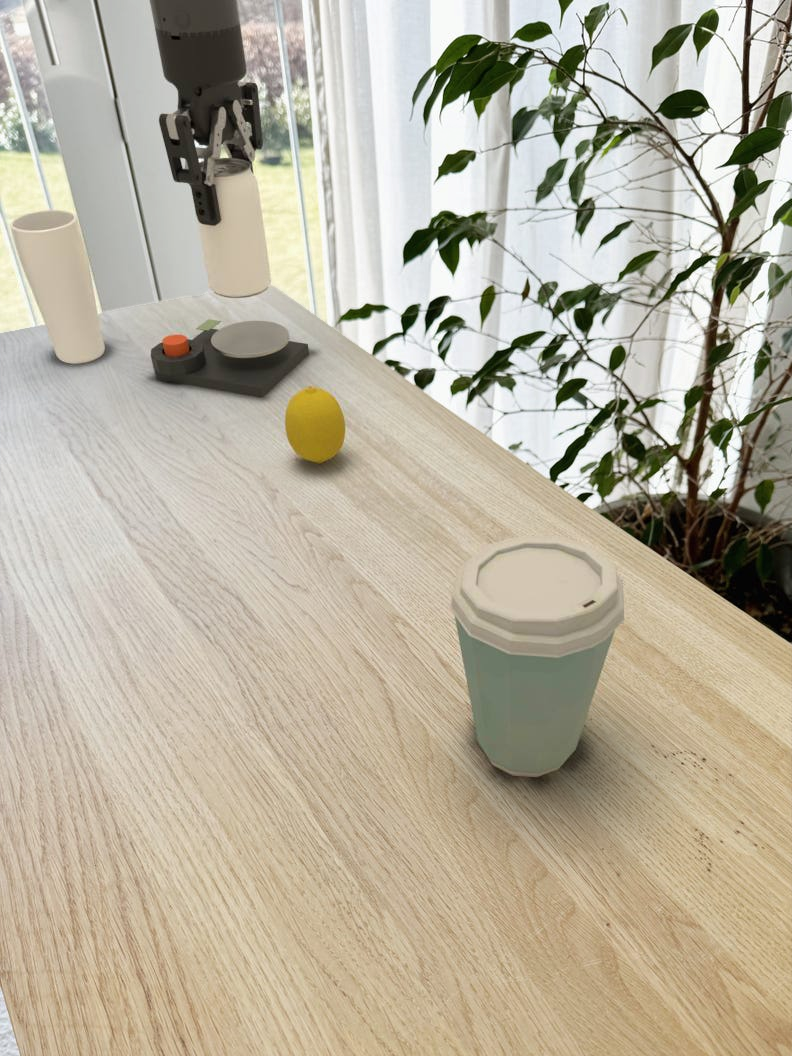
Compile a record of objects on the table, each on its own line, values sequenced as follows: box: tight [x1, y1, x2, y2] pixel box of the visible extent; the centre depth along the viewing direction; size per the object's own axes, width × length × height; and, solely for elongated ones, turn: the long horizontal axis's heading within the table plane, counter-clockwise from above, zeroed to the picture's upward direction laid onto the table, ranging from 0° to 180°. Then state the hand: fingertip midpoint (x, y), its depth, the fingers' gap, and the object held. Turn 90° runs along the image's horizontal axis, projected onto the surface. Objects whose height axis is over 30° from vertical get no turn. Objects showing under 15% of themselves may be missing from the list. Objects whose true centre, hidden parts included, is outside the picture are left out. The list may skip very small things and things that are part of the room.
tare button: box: [161, 333, 190, 357], centre depth 108 cm, size 3×3×2 cm
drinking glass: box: [9, 209, 106, 365], centre depth 109 cm, size 7×7×15 cm
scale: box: [150, 328, 310, 399], centre depth 111 cm, size 14×12×3 cm
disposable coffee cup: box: [449, 534, 625, 778], centre depth 64 cm, size 11×11×15 cm
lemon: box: [284, 385, 346, 465], centre depth 94 cm, size 6×6×8 cm
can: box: [193, 157, 272, 299], centre depth 102 cm, size 6×6×12 cm
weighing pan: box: [195, 318, 290, 358], centre depth 110 cm, size 12×8×1 cm
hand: (228, 211), depth 101 cm, fingers closed on can, 6 cm apart
